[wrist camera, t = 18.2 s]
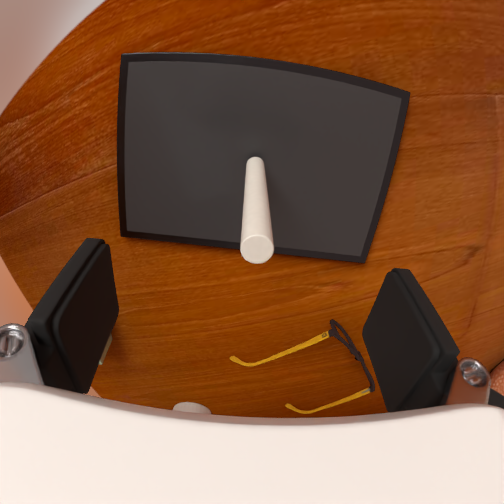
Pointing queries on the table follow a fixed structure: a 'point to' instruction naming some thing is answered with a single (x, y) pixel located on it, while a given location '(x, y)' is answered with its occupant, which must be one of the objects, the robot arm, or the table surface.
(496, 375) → the planter
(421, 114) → the table surface
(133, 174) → the tablet
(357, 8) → the table surface
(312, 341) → the eyeglasses
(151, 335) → the table surface
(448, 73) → the table surface
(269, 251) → the stylus
